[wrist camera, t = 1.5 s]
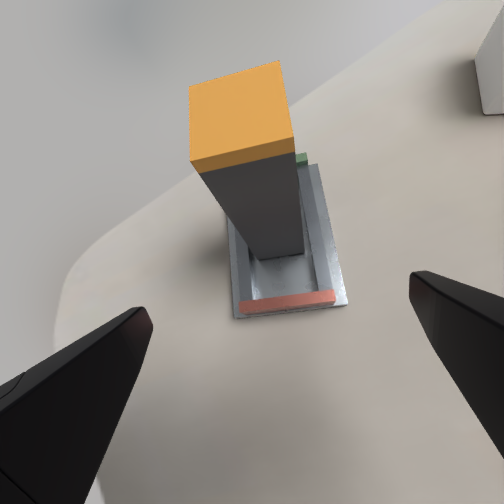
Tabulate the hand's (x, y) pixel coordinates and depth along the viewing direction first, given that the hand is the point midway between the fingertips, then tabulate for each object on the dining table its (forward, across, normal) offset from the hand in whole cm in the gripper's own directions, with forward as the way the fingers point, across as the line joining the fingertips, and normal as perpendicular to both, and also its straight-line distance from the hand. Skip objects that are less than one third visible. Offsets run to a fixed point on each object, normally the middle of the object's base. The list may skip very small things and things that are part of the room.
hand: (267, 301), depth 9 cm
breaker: (+14, 0, +3) cm, 14 cm away
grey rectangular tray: (+15, 0, +4) cm, 15 cm away
